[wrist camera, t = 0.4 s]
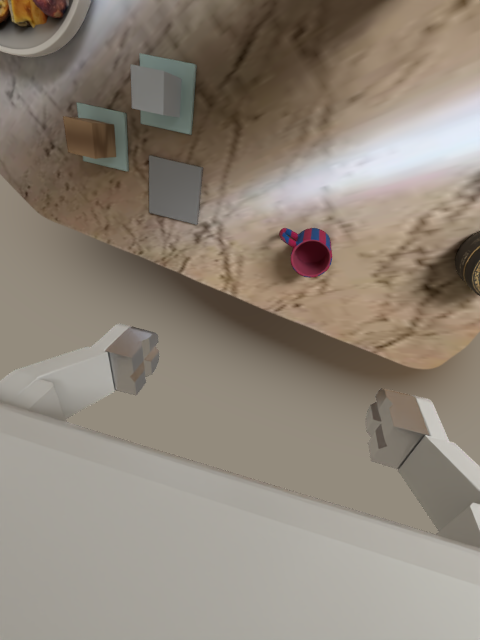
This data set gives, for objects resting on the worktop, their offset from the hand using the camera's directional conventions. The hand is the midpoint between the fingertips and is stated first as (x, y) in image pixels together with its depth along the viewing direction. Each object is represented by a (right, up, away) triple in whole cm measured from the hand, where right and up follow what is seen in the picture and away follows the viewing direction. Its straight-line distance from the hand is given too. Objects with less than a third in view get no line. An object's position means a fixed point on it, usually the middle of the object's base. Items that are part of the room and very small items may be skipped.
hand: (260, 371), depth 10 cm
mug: (+11, +17, +43) cm, 47 cm away
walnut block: (-25, +35, +41) cm, 59 cm away
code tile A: (-25, +35, +42) cm, 60 cm away
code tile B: (-12, +38, +36) cm, 54 cm away
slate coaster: (-13, +26, +44) cm, 52 cm away
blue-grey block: (-13, +38, +35) cm, 53 cm away
